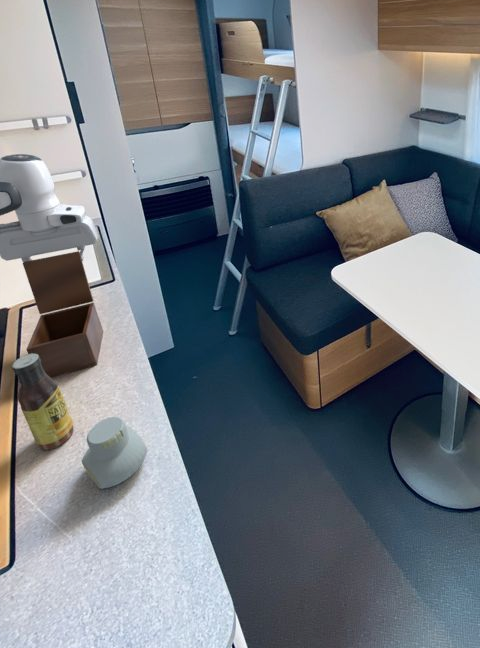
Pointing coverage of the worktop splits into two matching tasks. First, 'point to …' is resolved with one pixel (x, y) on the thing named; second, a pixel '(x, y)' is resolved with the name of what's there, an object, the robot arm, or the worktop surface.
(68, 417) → the sauce bottle
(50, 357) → the bin
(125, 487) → the worktop surface
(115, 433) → the air freshener
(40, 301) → the bin lid
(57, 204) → the robot arm
